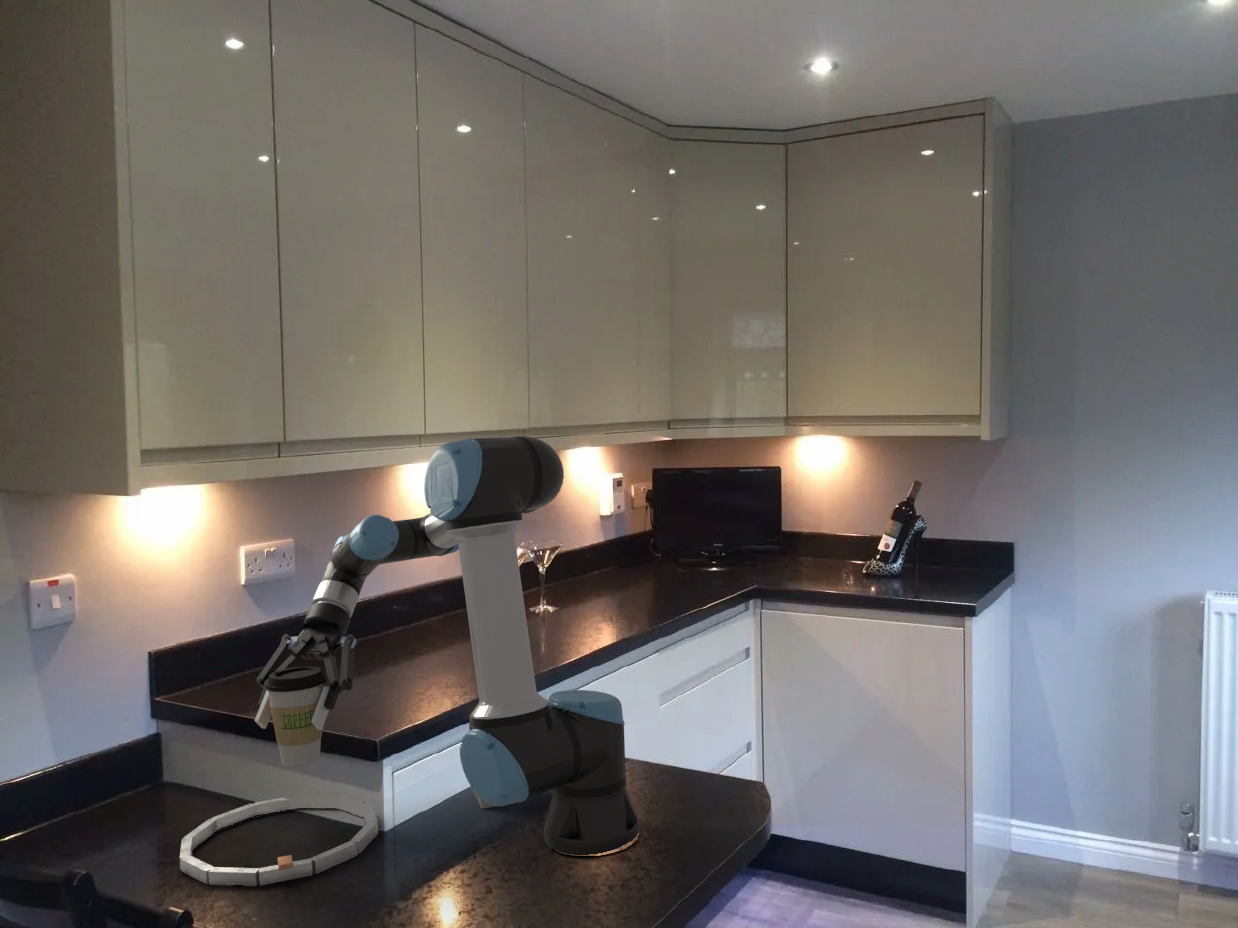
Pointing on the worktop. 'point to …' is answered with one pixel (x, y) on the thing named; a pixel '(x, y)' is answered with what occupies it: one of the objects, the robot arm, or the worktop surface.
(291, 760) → the coffee cup
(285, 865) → the centring ring
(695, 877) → the worktop surface
